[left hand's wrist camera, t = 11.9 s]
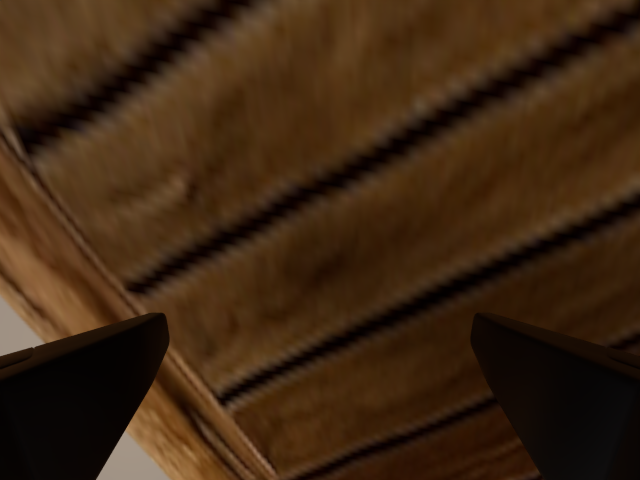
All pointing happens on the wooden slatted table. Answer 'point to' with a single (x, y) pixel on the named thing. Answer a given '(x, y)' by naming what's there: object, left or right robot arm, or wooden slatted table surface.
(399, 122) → the wooden slatted table surface
